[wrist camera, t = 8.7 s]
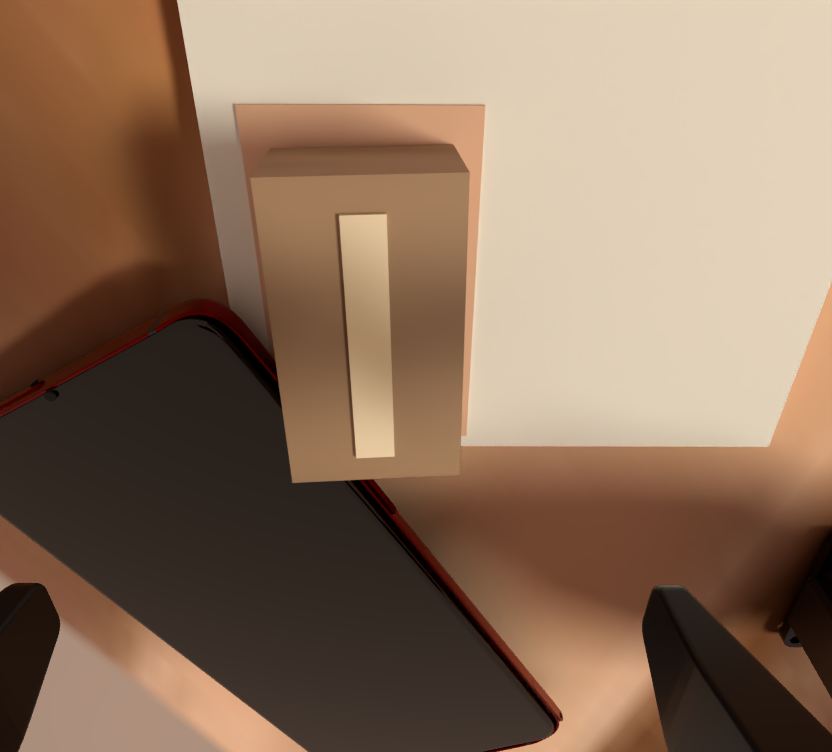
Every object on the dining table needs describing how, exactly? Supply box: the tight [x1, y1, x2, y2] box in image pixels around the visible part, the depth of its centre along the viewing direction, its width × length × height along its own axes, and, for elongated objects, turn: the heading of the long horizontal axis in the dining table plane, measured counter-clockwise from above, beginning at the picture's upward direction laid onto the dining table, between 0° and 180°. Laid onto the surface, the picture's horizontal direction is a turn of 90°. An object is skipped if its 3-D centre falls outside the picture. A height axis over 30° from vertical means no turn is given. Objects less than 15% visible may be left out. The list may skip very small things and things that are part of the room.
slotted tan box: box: [250, 144, 470, 483], centre depth 16 cm, size 8×4×3 cm, turn 0°
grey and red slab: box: [0, 299, 563, 752], centre depth 25 cm, size 12×2×25 cm
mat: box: [177, 0, 832, 447], centre depth 17 cm, size 17×14×1 cm
